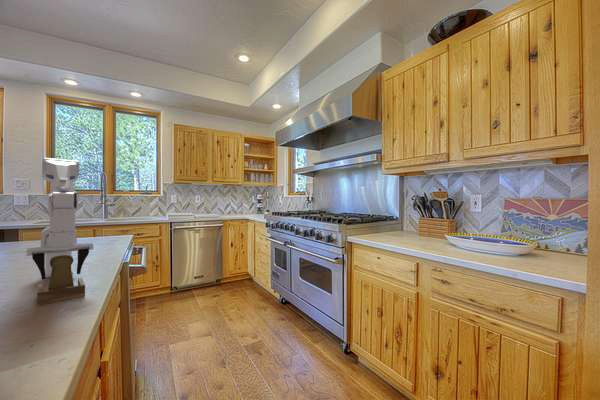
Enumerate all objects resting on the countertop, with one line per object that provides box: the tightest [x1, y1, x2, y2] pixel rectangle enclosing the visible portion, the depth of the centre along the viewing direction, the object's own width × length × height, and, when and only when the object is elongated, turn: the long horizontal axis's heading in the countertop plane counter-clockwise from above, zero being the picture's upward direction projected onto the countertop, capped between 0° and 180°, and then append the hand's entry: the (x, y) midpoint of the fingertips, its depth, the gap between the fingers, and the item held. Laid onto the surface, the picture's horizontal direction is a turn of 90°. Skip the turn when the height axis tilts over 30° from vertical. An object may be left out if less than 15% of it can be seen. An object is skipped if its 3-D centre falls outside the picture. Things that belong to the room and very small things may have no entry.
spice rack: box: [36, 277, 86, 306], centre depth 75 cm, size 10×10×3 cm
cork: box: [47, 255, 75, 291], centre depth 76 cm, size 6×6×11 cm
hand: (61, 275), depth 76 cm, fingers open, 7 cm apart
